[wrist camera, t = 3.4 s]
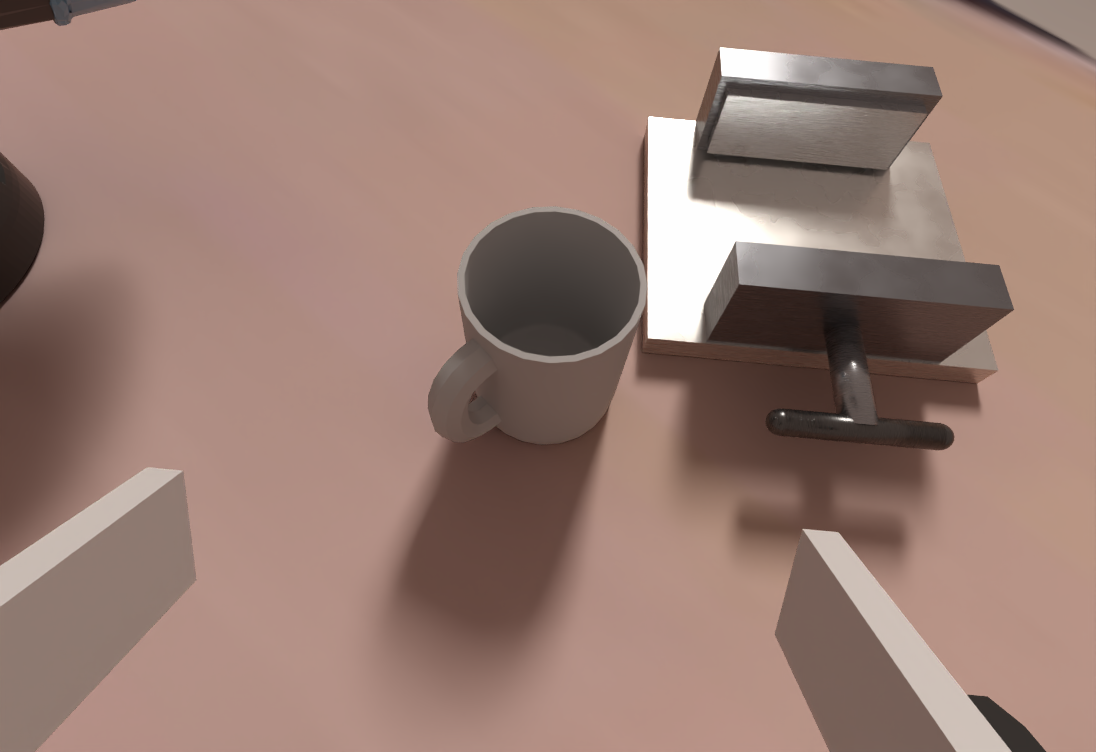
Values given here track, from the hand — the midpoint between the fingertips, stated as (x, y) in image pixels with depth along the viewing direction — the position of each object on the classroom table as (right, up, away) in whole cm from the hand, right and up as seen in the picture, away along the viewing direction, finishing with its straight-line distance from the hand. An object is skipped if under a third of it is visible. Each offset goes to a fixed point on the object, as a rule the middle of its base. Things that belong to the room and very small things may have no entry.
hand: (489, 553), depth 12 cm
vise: (+16, +9, +21) cm, 28 cm away
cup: (0, +3, +17) cm, 17 cm away
